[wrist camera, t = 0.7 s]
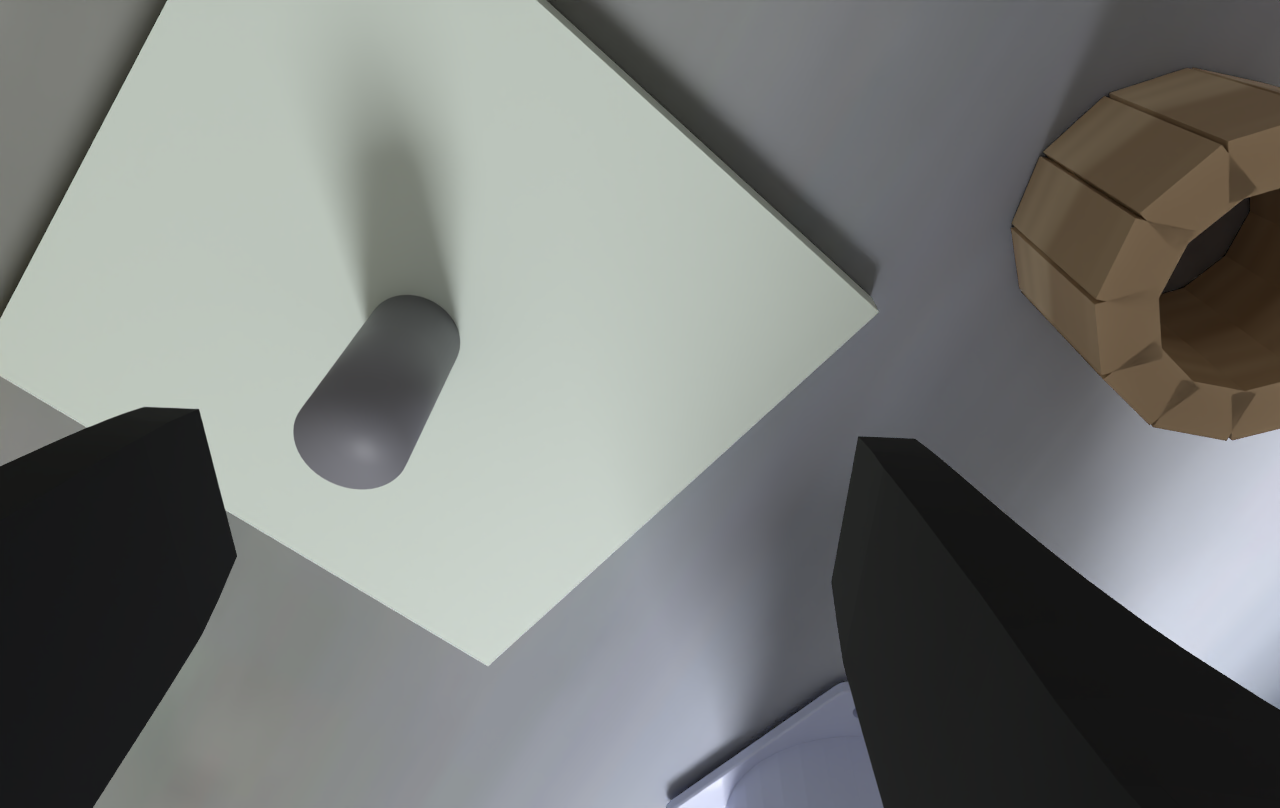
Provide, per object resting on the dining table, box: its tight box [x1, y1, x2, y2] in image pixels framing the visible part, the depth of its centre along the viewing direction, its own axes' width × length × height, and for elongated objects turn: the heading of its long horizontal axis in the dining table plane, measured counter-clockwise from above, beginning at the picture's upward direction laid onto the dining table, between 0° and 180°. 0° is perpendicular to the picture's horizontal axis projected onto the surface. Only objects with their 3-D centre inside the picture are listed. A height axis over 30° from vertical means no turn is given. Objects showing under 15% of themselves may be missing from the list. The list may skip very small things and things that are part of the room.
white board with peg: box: [0, 0, 879, 666], centre depth 17 cm, size 14×14×5 cm
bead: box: [1011, 67, 1280, 441], centre depth 16 cm, size 6×6×4 cm
